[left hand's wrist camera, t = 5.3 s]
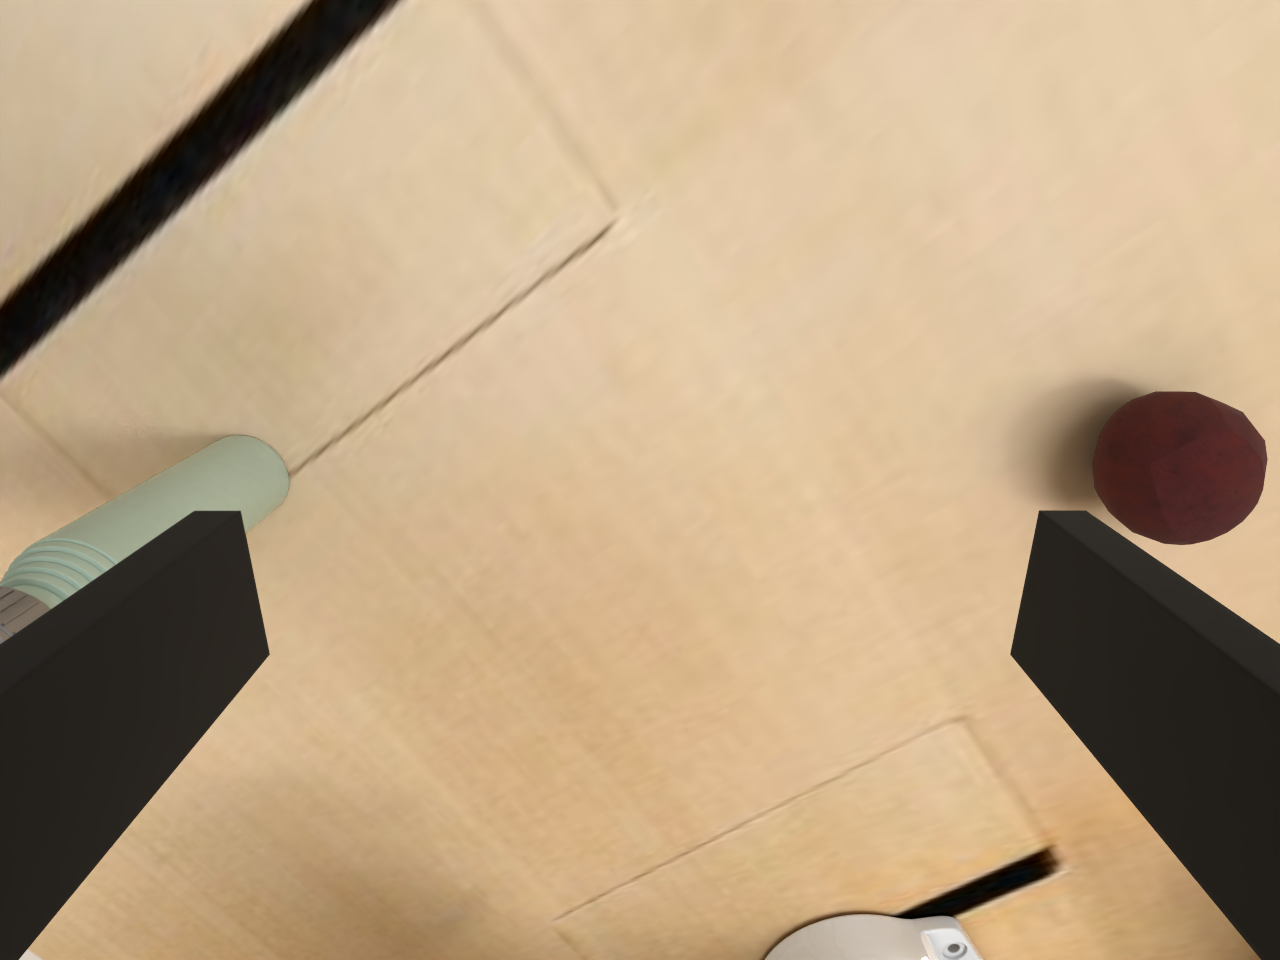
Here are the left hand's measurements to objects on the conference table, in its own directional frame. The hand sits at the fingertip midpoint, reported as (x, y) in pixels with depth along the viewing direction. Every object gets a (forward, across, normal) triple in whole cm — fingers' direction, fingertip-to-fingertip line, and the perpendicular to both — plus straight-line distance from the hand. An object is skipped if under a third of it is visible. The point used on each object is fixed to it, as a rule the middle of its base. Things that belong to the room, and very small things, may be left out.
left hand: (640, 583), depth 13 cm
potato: (+28, +27, -6) cm, 39 cm away
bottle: (+28, -22, -8) cm, 36 cm away
